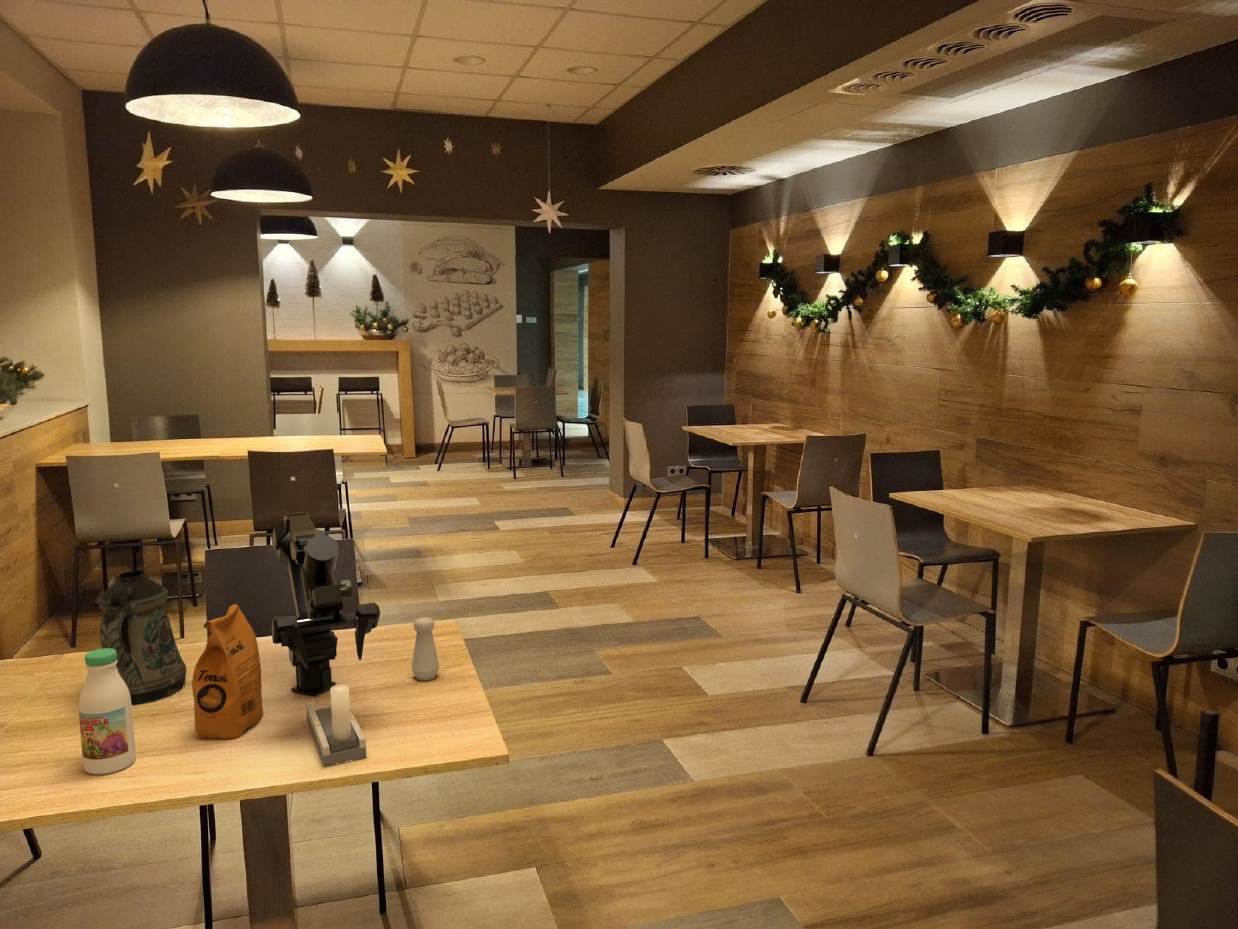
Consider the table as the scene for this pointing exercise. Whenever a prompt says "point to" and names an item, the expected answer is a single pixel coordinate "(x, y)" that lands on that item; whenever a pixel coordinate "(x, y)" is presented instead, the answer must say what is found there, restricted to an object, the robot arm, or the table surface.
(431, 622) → the salt shaker
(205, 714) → the coffee package
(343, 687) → the fader slider
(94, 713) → the milk bottle
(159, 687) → the beer stein
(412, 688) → the table surface
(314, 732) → the fader console
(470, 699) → the table surface
